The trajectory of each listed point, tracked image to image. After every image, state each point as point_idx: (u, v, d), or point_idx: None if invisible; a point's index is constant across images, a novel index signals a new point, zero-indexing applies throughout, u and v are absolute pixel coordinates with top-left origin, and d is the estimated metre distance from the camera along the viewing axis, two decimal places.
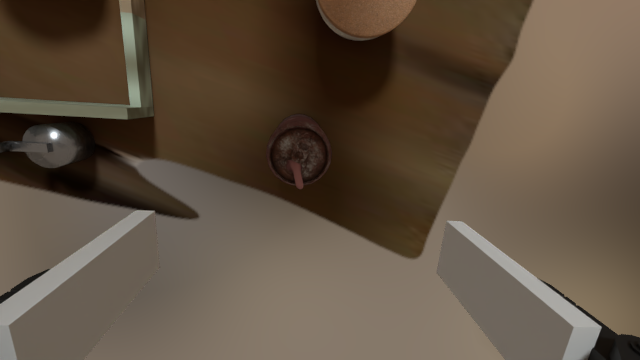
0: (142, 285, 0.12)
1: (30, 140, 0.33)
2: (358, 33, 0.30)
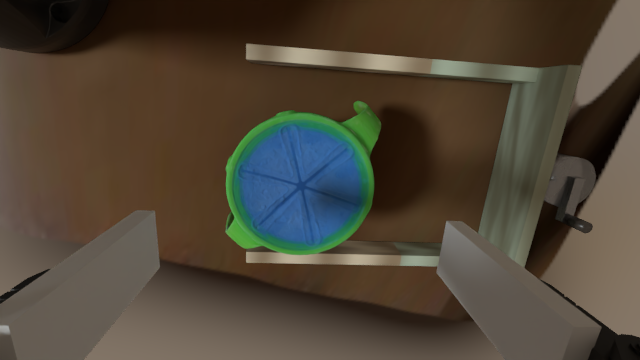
0: (142, 285, 0.12)
1: (559, 198, 0.29)
2: None
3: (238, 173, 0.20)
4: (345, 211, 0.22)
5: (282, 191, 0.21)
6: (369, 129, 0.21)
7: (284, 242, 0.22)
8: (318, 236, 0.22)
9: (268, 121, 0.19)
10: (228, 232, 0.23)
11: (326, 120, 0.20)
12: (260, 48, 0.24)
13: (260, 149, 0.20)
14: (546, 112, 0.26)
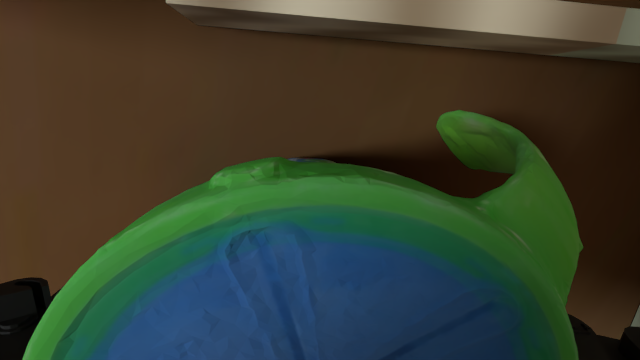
0: None
1: None
2: None
3: None
4: None
5: None
6: (561, 218, 0.06)
7: None
8: None
9: (166, 217, 0.04)
10: None
11: (428, 206, 0.04)
12: None
13: (149, 318, 0.05)
14: None
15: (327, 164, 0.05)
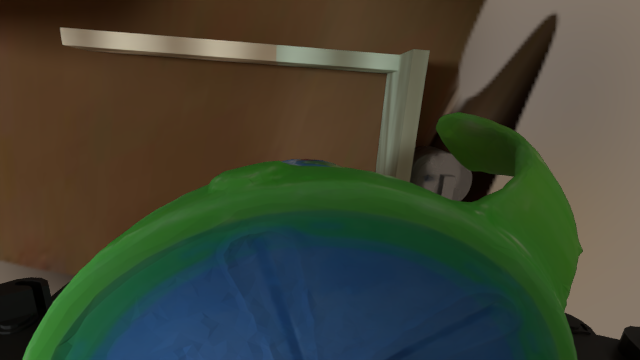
0: None
1: None
2: None
3: None
4: None
5: None
6: (560, 222, 0.06)
7: None
8: None
9: (164, 222, 0.04)
10: None
11: (427, 211, 0.04)
12: (77, 32, 0.22)
13: (147, 322, 0.05)
14: (402, 103, 0.23)
15: (326, 168, 0.05)
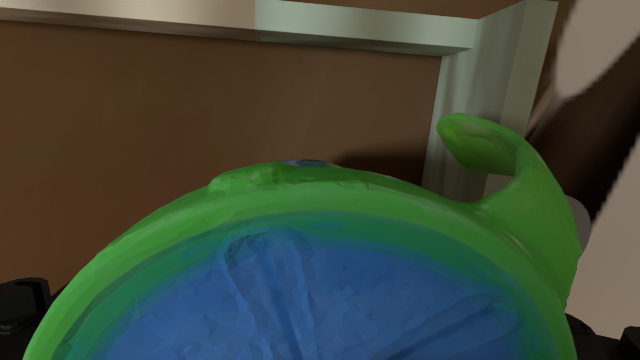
0: None
1: None
2: None
3: None
4: None
5: None
6: (560, 222, 0.06)
7: None
8: None
9: (164, 222, 0.04)
10: None
11: (427, 212, 0.04)
12: None
13: (148, 322, 0.05)
14: (488, 107, 0.12)
15: (326, 169, 0.05)
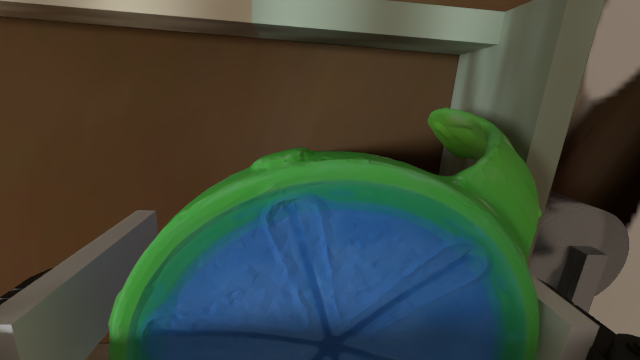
0: None
1: None
2: None
3: (144, 343, 0.07)
4: None
5: None
6: (522, 190, 0.07)
7: None
8: None
9: (224, 191, 0.06)
10: None
11: (414, 180, 0.06)
12: None
13: (208, 271, 0.06)
14: (519, 111, 0.11)
15: (338, 152, 0.07)
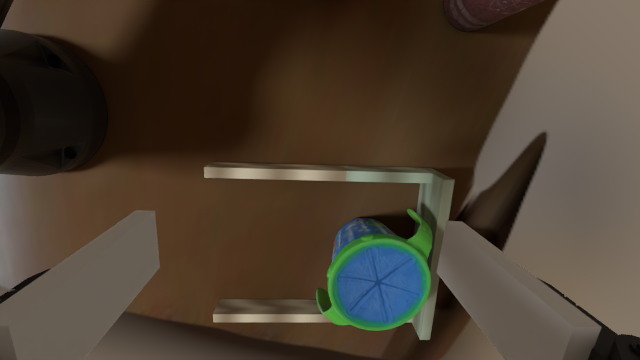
0: (142, 285, 0.12)
1: None
2: None
3: (337, 278, 0.29)
4: (410, 298, 0.30)
5: (365, 286, 0.30)
6: (425, 242, 0.30)
7: (367, 322, 0.31)
8: (391, 316, 0.31)
9: (358, 245, 0.28)
10: (325, 314, 0.32)
11: (397, 242, 0.28)
12: (214, 169, 0.33)
13: (351, 262, 0.29)
14: (435, 210, 0.33)
15: (380, 235, 0.29)
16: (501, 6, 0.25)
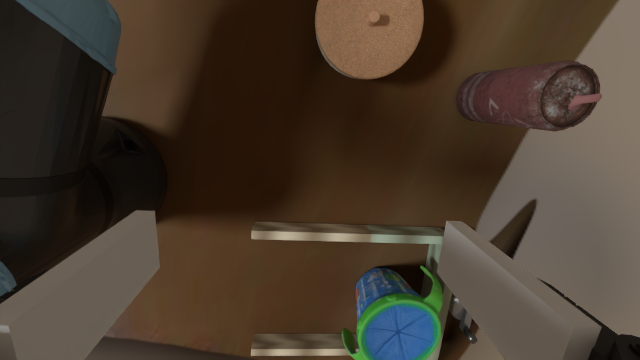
0: (142, 285, 0.12)
1: (461, 315, 0.43)
2: (420, 31, 0.29)
3: (365, 330, 0.36)
4: (424, 345, 0.37)
5: (387, 335, 0.37)
6: (437, 300, 0.36)
7: None
8: (407, 359, 0.37)
9: (384, 305, 0.35)
10: (352, 356, 0.38)
11: (416, 302, 0.35)
12: (260, 232, 0.39)
13: (378, 317, 0.35)
14: None
15: (402, 295, 0.35)
16: (505, 123, 0.32)
